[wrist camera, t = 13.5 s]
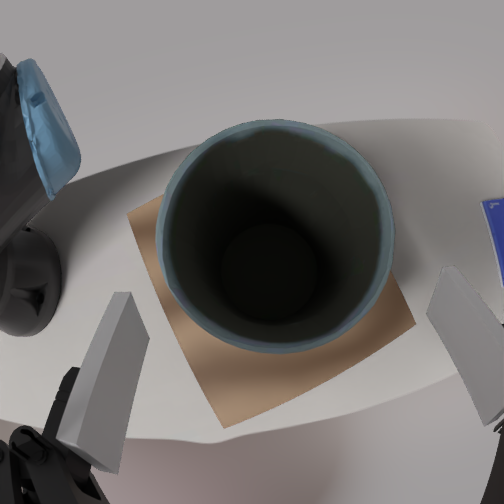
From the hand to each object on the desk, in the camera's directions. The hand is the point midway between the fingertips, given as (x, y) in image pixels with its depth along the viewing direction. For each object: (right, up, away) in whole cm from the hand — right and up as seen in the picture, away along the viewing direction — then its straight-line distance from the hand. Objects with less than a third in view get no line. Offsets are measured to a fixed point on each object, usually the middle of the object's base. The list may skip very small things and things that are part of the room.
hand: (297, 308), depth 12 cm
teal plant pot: (0, +1, +12) cm, 12 cm away
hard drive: (+36, +4, +20) cm, 41 cm away
